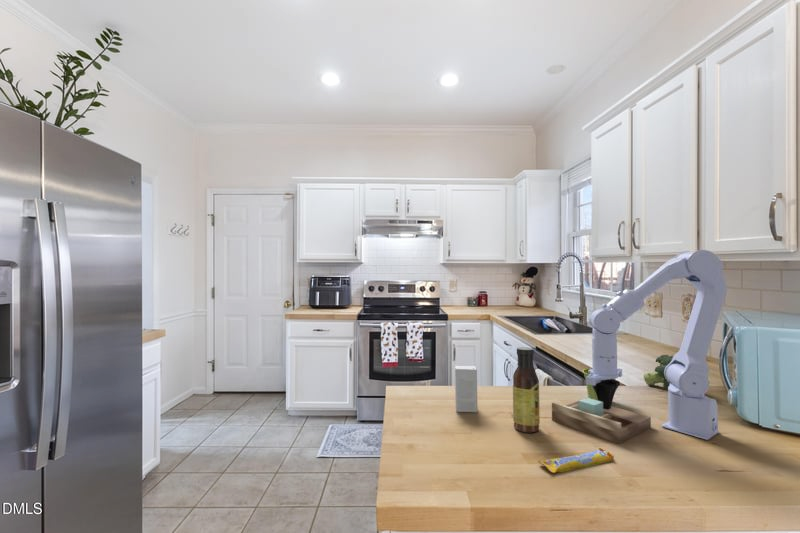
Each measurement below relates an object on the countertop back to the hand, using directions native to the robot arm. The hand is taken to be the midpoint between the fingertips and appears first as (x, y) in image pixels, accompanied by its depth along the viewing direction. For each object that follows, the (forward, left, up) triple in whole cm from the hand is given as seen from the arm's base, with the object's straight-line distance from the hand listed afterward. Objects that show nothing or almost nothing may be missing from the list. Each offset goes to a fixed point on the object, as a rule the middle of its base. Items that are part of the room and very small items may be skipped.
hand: (605, 408), depth 100 cm
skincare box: (+27, +23, -4) cm, 36 cm away
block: (0, +7, -1) cm, 7 cm away
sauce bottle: (+9, +20, -4) cm, 23 cm away
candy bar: (-8, +26, -4) cm, 28 cm away
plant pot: (+9, -15, -4) cm, 18 cm away
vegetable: (+2, -44, -4) cm, 44 cm away
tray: (0, +2, -3) cm, 4 cm away
